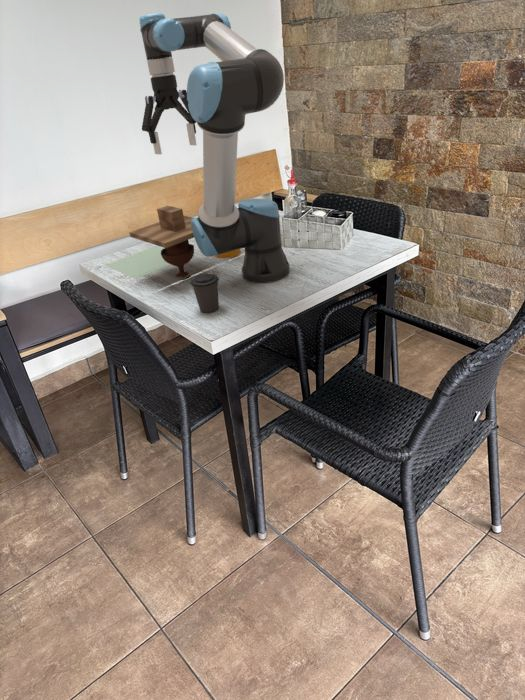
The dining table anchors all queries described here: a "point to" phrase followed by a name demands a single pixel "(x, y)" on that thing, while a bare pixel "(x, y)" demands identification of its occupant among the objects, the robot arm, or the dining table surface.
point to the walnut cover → (166, 228)
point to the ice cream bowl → (179, 256)
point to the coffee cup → (206, 292)
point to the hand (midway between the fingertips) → (176, 149)
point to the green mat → (140, 263)
